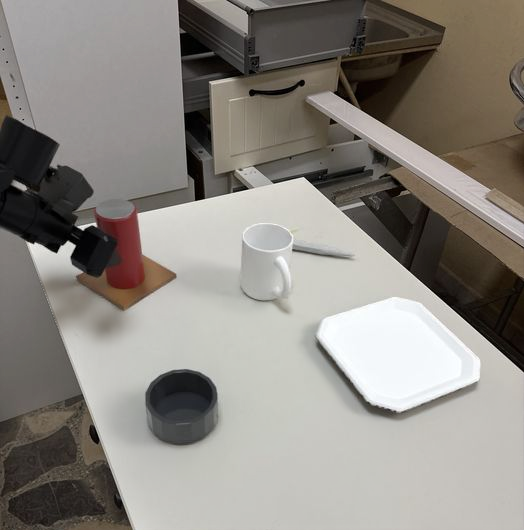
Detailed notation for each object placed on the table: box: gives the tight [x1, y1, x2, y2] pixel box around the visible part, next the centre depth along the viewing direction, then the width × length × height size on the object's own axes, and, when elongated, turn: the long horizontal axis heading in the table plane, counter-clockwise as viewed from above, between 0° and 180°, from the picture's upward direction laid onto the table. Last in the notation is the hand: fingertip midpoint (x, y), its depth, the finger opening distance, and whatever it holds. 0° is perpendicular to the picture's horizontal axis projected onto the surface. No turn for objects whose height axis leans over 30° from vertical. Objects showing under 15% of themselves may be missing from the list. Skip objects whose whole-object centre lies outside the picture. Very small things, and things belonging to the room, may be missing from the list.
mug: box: [240, 222, 294, 301], centre depth 87 cm, size 12×8×10 cm
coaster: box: [75, 253, 177, 311], centre depth 91 cm, size 12×12×1 cm
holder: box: [144, 368, 219, 446], centre depth 69 cm, size 9×9×4 cm
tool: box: [292, 238, 356, 258], centre depth 99 cm, size 17×2×2 cm, turn 77°
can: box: [93, 198, 145, 289], centre depth 85 cm, size 6×6×13 cm
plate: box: [315, 296, 482, 414], centre depth 81 cm, size 21×21×2 cm
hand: (100, 249), depth 83 cm, fingers open, 9 cm apart
